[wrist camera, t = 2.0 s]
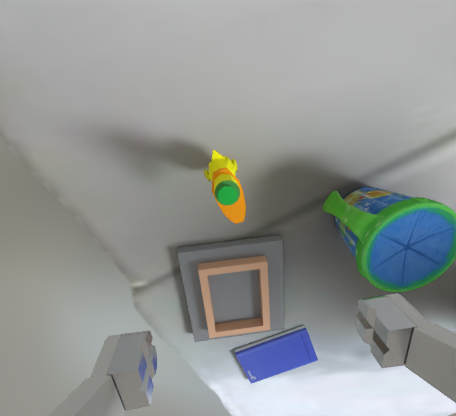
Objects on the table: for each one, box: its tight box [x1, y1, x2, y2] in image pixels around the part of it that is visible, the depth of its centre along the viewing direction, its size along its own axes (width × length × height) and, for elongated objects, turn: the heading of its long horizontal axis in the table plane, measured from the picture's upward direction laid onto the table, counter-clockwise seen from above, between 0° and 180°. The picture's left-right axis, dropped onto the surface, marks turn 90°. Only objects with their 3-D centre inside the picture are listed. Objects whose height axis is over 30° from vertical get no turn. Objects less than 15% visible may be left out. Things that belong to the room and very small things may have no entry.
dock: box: [177, 235, 284, 342], centre depth 38 cm, size 14×16×3 cm
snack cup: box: [323, 187, 456, 292], centre depth 31 cm, size 16×10×10 cm
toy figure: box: [204, 150, 246, 224], centre depth 26 cm, size 7×4×12 cm, turn 20°
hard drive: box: [235, 325, 318, 384], centre depth 45 cm, size 2×8×12 cm
